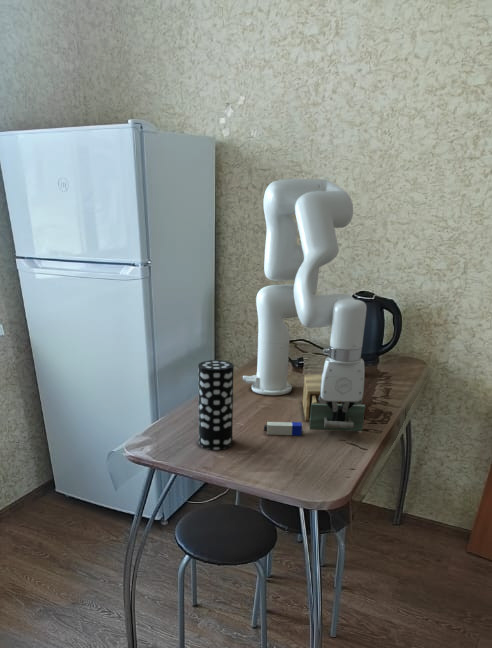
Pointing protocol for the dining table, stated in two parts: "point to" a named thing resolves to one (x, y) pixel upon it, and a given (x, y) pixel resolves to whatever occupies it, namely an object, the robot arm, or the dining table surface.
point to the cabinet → (310, 391)
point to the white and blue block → (283, 428)
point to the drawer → (323, 416)
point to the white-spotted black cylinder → (215, 404)
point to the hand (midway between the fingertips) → (337, 425)
